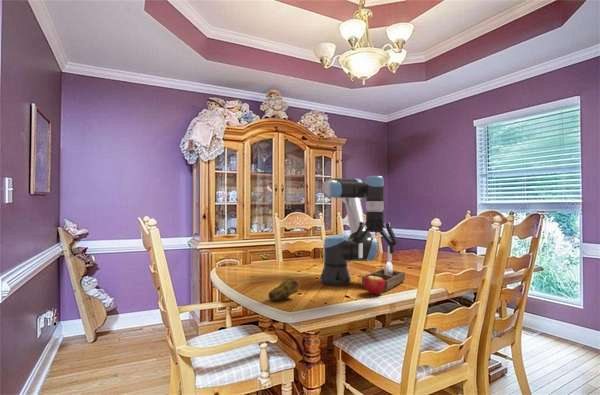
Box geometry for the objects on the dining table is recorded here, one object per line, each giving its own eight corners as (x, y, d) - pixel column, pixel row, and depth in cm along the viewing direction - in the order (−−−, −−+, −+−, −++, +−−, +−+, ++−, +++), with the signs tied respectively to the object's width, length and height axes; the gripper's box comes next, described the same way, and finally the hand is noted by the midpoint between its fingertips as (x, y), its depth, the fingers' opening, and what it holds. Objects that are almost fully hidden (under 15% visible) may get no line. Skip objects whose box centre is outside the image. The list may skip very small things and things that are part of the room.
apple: (364, 290, 147) (364, 268, 147) (383, 291, 146) (383, 269, 146) (365, 296, 139) (365, 272, 139) (385, 296, 138) (385, 273, 138)
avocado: (266, 297, 136) (266, 278, 136) (296, 295, 139) (296, 276, 139) (269, 303, 128) (269, 283, 128) (301, 301, 131) (301, 281, 131)
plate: (384, 281, 160) (384, 263, 160) (391, 278, 167) (391, 260, 167) (385, 281, 159) (385, 263, 159) (392, 278, 166) (392, 260, 167)
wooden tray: (362, 287, 153) (362, 277, 153) (381, 278, 172) (381, 269, 172) (387, 291, 146) (387, 281, 146) (404, 281, 164) (404, 272, 164)
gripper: (345, 210, 148) (345, 257, 147) (399, 211, 132) (399, 263, 132) (353, 210, 153) (353, 255, 153) (405, 211, 138) (405, 261, 138)
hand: (374, 259), depth 143 cm, fingers open, 13 cm apart
